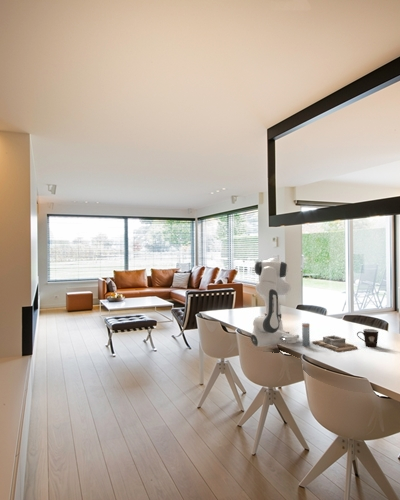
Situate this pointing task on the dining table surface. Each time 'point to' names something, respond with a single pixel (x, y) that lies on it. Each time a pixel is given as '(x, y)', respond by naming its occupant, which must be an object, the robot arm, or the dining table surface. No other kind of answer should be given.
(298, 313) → the dining table surface
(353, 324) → the dining table surface
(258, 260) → the robot arm
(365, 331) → the coffee mug
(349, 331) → the dining table surface
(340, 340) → the assembly jig
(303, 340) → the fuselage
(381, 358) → the dining table surface
